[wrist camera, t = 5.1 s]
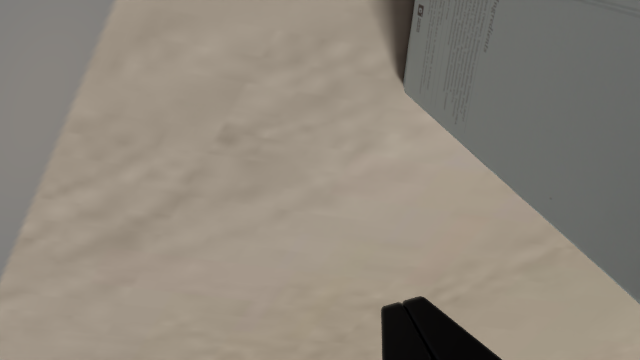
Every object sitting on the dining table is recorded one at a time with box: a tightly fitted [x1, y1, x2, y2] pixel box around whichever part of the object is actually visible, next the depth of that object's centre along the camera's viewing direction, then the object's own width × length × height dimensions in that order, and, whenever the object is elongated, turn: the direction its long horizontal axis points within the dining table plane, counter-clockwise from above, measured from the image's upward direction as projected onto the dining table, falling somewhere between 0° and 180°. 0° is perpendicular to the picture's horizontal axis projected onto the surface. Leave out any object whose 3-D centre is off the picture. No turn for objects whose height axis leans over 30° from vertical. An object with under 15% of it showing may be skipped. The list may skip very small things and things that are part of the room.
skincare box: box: [403, 0, 640, 304], centre depth 14 cm, size 8×6×15 cm
